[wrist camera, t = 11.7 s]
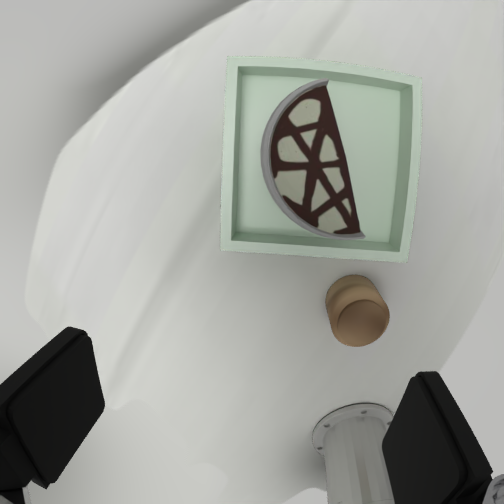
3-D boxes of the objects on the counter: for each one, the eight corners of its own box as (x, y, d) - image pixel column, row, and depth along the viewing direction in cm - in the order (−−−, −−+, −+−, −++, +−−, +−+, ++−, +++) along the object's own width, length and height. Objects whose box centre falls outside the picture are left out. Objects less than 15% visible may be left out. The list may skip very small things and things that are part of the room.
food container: (251, 111, 29) (237, 91, 19) (312, 97, 28) (326, 71, 18) (282, 231, 32) (282, 263, 23) (342, 217, 31) (367, 244, 22)
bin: (394, 250, 32) (406, 262, 28) (227, 239, 34) (220, 250, 30) (406, 85, 27) (421, 77, 23) (233, 67, 28) (227, 56, 24)
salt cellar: (371, 323, 35) (384, 351, 30) (322, 322, 36) (327, 350, 30) (381, 276, 33) (397, 298, 28) (329, 273, 34) (337, 295, 28)
